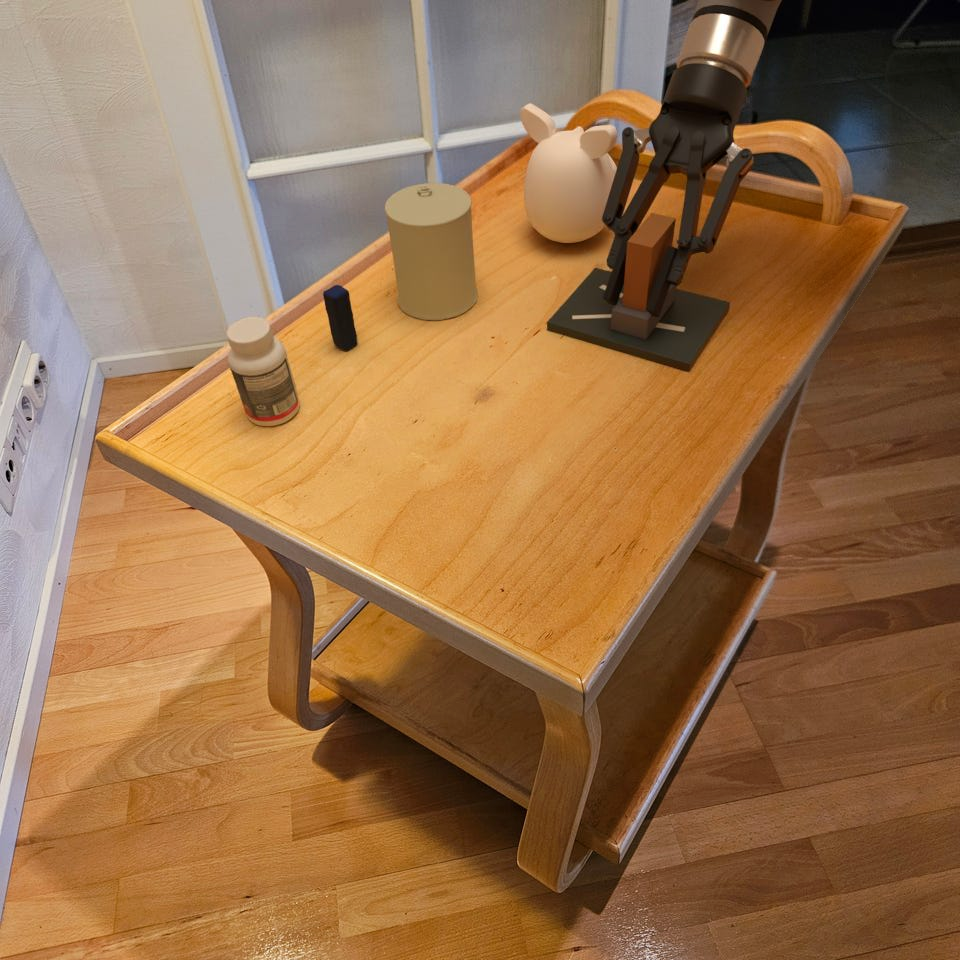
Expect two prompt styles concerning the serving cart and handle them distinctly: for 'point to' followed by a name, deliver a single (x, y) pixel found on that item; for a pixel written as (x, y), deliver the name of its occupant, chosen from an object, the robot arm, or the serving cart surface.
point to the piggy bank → (567, 177)
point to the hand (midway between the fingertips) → (631, 307)
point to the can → (432, 250)
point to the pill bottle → (261, 372)
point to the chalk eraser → (644, 277)
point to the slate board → (667, 343)
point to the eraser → (340, 317)
